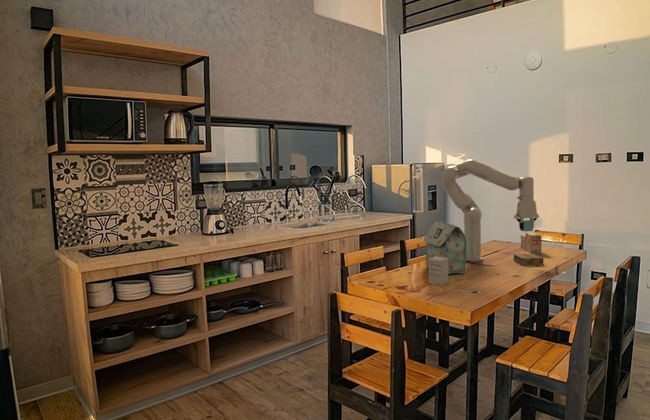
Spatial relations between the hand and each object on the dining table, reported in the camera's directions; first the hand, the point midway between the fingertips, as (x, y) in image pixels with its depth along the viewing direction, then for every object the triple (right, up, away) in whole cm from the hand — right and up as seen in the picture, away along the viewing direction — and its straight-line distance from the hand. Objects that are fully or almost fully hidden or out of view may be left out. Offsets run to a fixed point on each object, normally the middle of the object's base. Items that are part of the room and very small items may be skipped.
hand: (526, 229), depth 268 cm
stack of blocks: (+18, -16, +35) cm, 42 cm away
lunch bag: (-51, -23, -13) cm, 58 cm away
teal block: (0, -1, 0) cm, 1 cm away
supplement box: (-61, -26, -39) cm, 77 cm away
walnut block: (+1, -20, 0) cm, 20 cm away
